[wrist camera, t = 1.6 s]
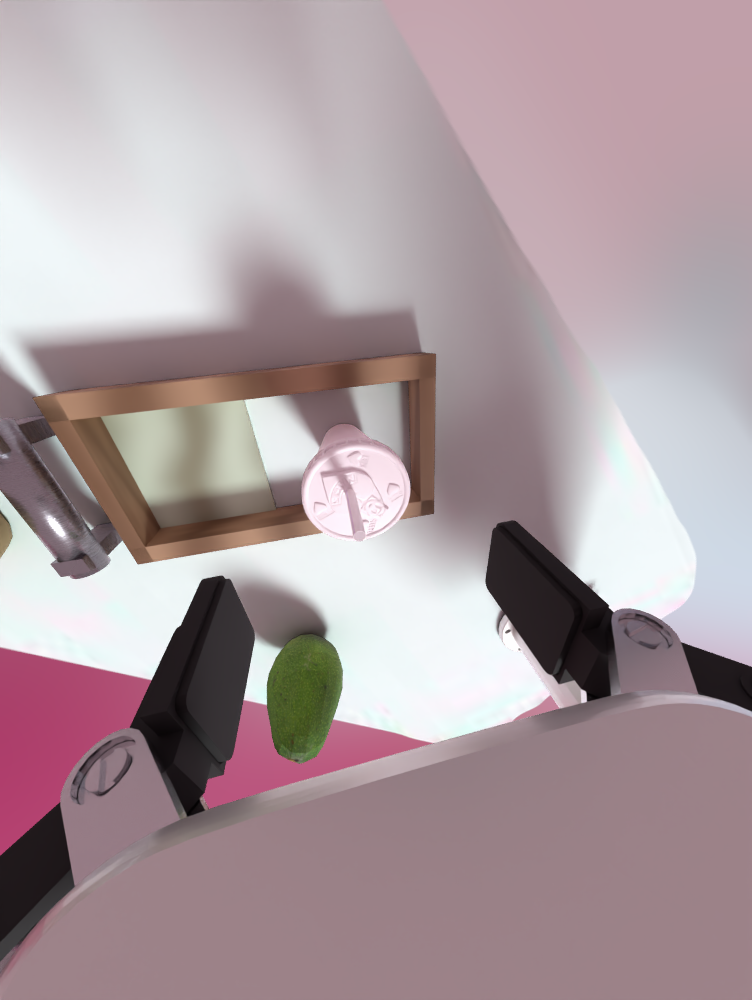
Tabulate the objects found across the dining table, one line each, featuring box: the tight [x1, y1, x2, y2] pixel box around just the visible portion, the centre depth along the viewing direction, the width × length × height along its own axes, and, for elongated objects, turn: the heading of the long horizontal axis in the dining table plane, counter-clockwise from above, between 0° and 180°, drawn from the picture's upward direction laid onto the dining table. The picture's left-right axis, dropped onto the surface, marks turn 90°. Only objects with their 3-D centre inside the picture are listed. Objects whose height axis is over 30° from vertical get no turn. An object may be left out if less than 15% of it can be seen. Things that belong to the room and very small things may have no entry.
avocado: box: [267, 634, 343, 764], centre depth 31 cm, size 8×8×12 cm
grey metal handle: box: [0, 416, 122, 579], centre depth 19 cm, size 2×12×8 cm, turn 5°
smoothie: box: [301, 424, 410, 541], centre depth 19 cm, size 6×6×14 cm
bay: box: [33, 352, 436, 564], centre depth 23 cm, size 25×13×3 cm, turn 95°
